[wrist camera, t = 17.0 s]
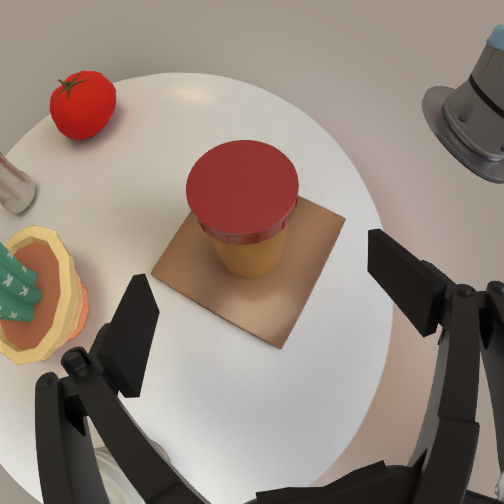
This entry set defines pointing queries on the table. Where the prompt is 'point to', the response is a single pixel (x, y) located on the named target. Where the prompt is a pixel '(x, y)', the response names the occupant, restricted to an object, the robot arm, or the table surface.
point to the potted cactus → (38, 296)
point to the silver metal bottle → (14, 187)
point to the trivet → (253, 289)
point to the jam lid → (242, 192)
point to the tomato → (83, 104)
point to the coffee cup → (118, 478)
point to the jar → (251, 255)
